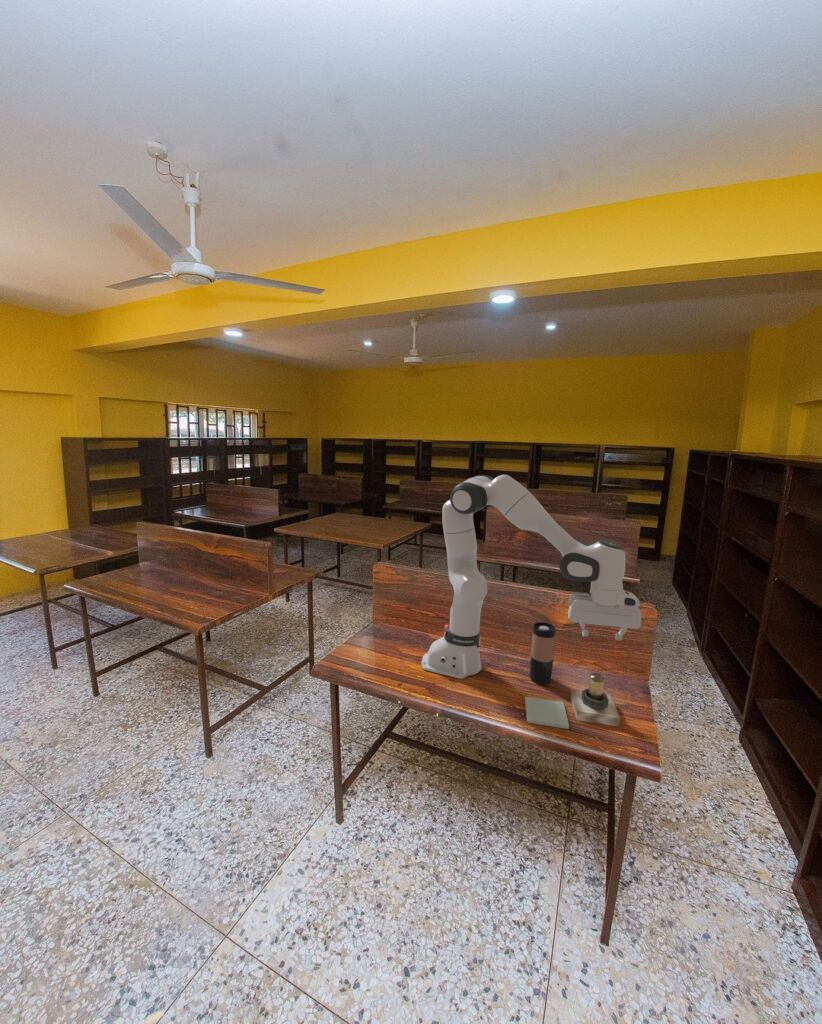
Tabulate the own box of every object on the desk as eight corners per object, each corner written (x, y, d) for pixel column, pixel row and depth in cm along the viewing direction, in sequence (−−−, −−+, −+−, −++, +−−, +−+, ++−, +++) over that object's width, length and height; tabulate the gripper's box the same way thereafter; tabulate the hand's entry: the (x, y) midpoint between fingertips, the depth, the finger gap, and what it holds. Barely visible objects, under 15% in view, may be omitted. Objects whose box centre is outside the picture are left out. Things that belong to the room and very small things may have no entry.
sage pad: (526, 722, 126) (527, 719, 126) (524, 699, 137) (525, 696, 137) (568, 729, 123) (569, 726, 123) (563, 705, 135) (563, 702, 135)
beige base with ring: (576, 720, 127) (578, 703, 127) (570, 697, 139) (572, 682, 138) (619, 726, 125) (621, 709, 124) (609, 703, 137) (610, 687, 136)
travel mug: (550, 675, 152) (554, 623, 149) (552, 686, 145) (557, 632, 142) (528, 672, 154) (532, 621, 151) (529, 683, 147) (533, 629, 144)
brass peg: (588, 705, 130) (591, 678, 129) (586, 697, 134) (588, 671, 133) (602, 707, 129) (605, 680, 128) (599, 699, 133) (602, 673, 132)
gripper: (571, 595, 125) (567, 638, 127) (645, 601, 121) (640, 646, 123) (567, 588, 131) (564, 629, 133) (638, 594, 127) (633, 637, 129)
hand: (601, 637), depth 128 cm, fingers open, 8 cm apart
